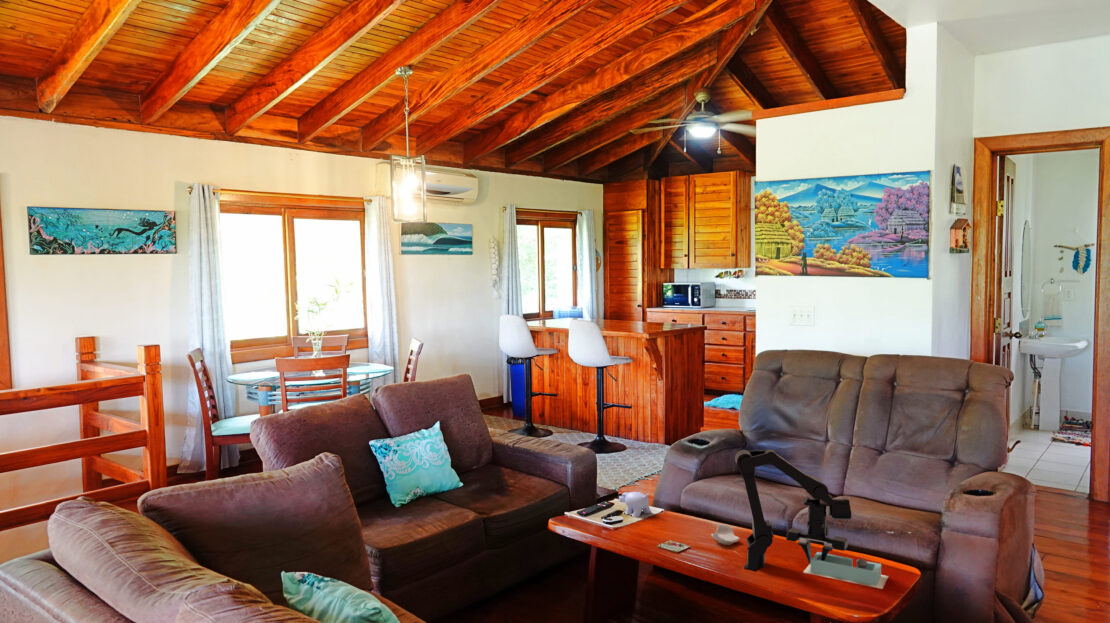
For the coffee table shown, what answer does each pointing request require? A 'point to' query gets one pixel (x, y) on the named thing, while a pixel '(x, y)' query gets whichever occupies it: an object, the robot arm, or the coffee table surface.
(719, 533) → the pottery shard
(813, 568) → the mint green notched block
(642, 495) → the grey bear figurine
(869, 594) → the coffee table surface
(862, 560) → the post stand
